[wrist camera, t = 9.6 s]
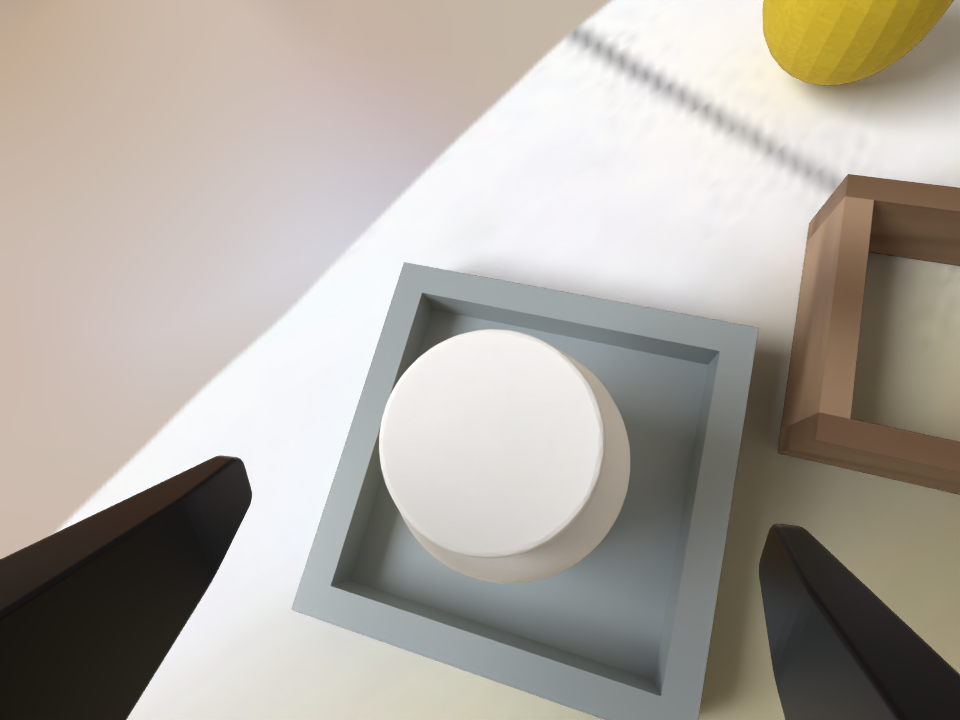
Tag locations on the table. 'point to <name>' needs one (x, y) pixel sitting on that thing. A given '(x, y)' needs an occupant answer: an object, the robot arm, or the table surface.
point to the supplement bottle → (504, 456)
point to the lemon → (845, 35)
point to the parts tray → (614, 561)
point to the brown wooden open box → (836, 327)
